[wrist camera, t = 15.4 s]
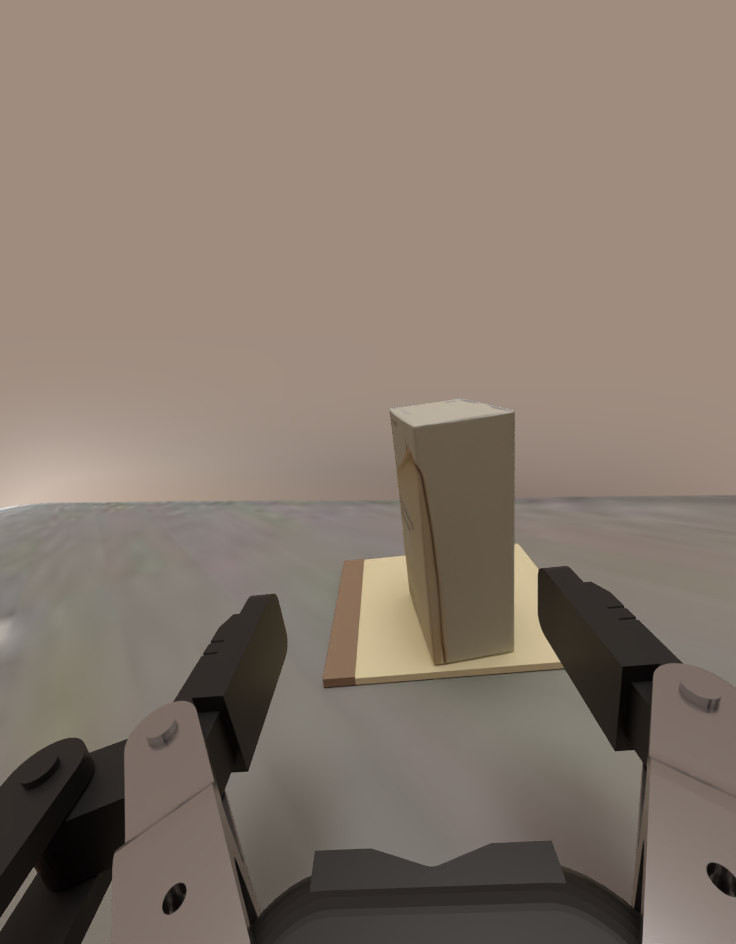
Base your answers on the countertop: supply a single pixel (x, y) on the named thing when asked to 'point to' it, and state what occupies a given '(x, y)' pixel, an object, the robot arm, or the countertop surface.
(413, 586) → the skincare box
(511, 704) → the countertop surface
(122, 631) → the countertop surface
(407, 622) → the notepad
